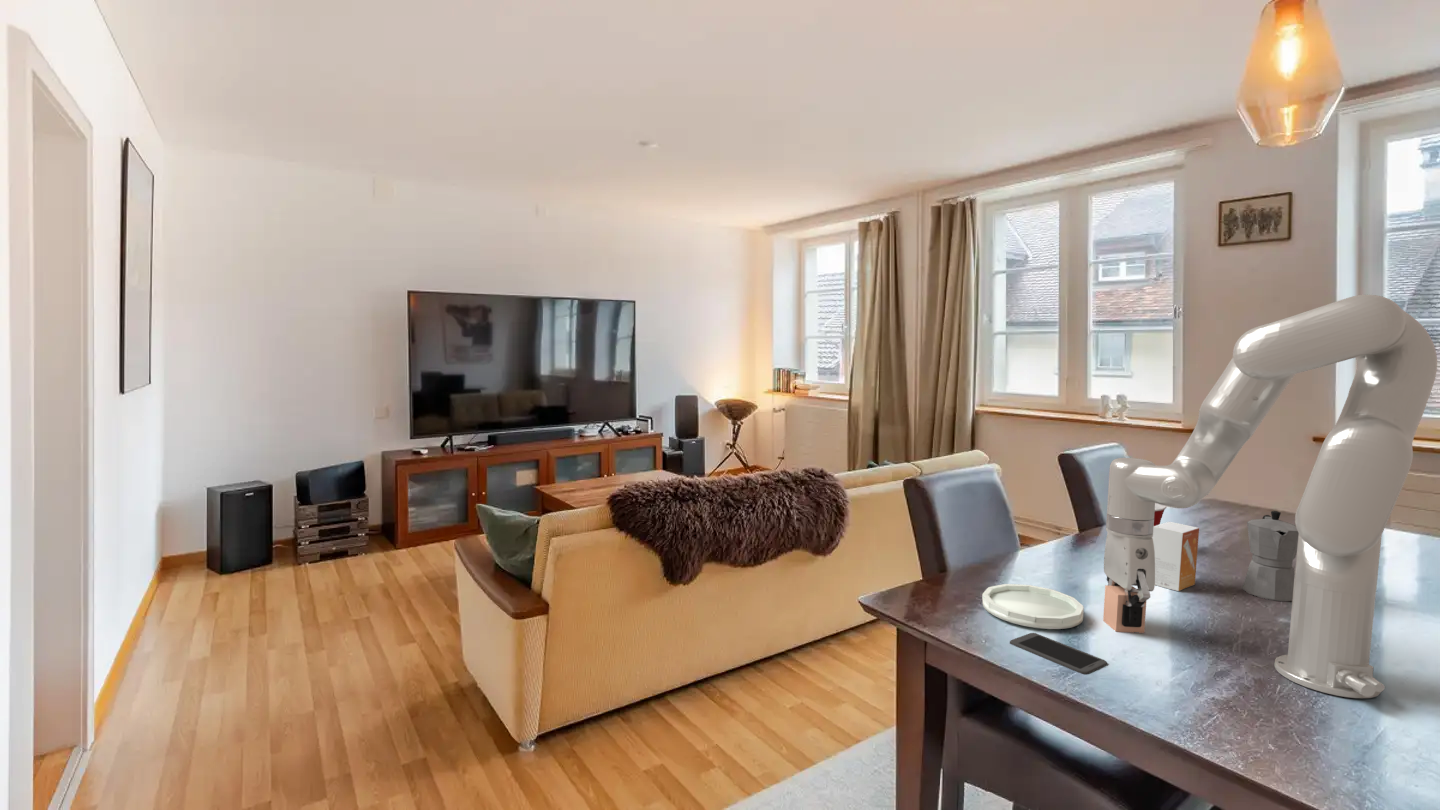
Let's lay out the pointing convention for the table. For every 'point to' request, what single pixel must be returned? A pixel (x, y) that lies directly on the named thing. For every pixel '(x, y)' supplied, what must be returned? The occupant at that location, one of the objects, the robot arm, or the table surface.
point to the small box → (1175, 555)
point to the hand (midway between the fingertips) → (1123, 619)
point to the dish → (1033, 606)
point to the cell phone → (1059, 653)
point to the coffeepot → (1271, 558)
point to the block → (1119, 609)
